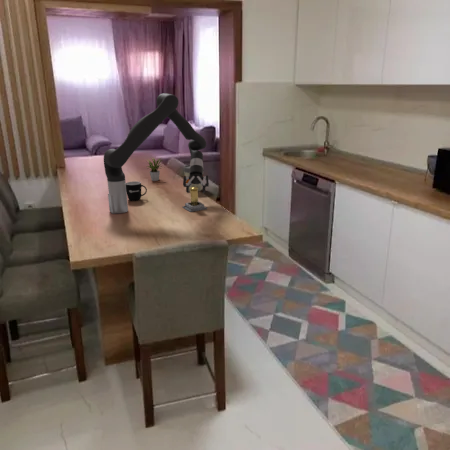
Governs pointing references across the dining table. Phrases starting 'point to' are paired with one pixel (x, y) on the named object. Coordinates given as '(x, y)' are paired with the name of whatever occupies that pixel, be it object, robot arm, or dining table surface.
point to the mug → (134, 190)
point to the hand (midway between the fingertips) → (195, 192)
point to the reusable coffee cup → (187, 173)
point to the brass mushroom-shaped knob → (194, 195)
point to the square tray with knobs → (194, 207)
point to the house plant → (154, 169)
